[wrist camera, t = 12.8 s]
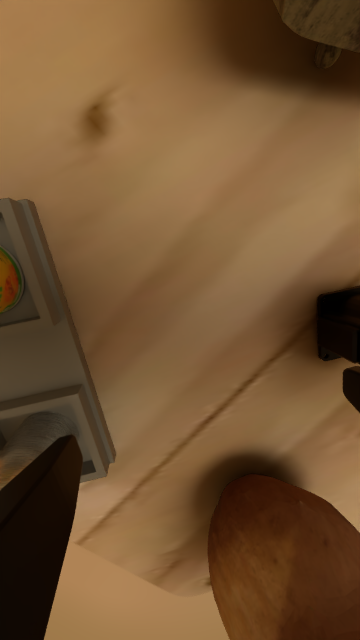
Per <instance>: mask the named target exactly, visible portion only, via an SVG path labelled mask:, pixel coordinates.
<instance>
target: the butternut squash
mask: <svg viewBox="0 0 360 640" xmlns="http://www.w3.org/2000/svg"><path fill="white" fill-rule="evenodd" d="M208 562H209V572H210V580H211V585H212V590H213V594H214V598H215V601H216V604H217V607H218V610H219V613H220V616H221V619H222V621H223V624H224V627H225V629H226V632H227V634H228V636H229V639H230V640H360V533H359V532H358V531H357V529H356V528H355V527H354V526H353V525H352V524H351V523H350V522H349V521H348V520H347V519H346V518H345V517H344V516H343V515H342V514H341V513H340V512H339V511H338V510H337V509H336V508H335V507H333V506H332V505H331V504H330V503H329V502H327V501H326V500H324V499H323V498H321V497H319V496H317V495H315V494H313V493H311V492H308V491H306V490H304V489H301V488H299V487H296V486H293V485H291V484H288V483H286V482H283V481H281V480H279V479H276V478H272V477H268V476H265V475H258V474H248V475H246V476H243V477H240V478H238V479H236V480H234V481H232V482H231V483H229V484H228V485H227V486H226V488H225V489H224V491H223V492H222V494H221V496H220V499H219V502H218V505H217V507H216V509H215V511H214V514H213V516H212V518H211V524H210V529H209V536H208Z"/></svg>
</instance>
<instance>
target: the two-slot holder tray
mask: <svg viewBox="0 0 360 640" xmlns="http://www.w3.org/2000/svg"><path fill="white" fill-rule="evenodd" d="M0 246H2V247H4V248H5V249H6V250H7V251H9V252H10V253H11V254H12V255H13V257H14V258H15V259H16V260H17V262H18V263H19V265H20V267H21V269H22V272H23V275H24V291H23V294H22V296H21V298H20V300H19V301H18V303H17V304H16V305H15V306H14V307H13V308H11V309H10V310H8V311H6V312H4V313H2V314H0V451H1V450H2V448H3V447H4V446H5V444H6V443H7V442H8V441H9V439H10V438H11V437H12V435H13V434H14V433H15V432H16V430H17V429H18V428H19V427H20V425H21V424H22V423H23V422H24V420H25V419H27V418H28V417H29V416H31V415H33V414H36V413H39V412H47V411H48V412H56V413H60V414H63V415H65V416H67V417H68V418H69V419H71V420H72V421H73V422H74V423H75V425H76V426H77V429H78V431H79V441H78V445H79V447H80V450H81V453H82V456H83V465H82V471H81V478H80V483H82V482H86V481H90V480H94V479H98V478H102V477H106V476H107V473H108V468H109V464H110V463H114V462H115V457H116V452H115V449H114V446H113V443H112V440H111V437H110V434H109V431H108V428H107V425H106V421H105V418H104V415H103V412H102V409H101V406H100V403H99V400H98V397H97V394H96V391H95V388H94V385H93V382H92V379H91V376H90V373H89V370H88V367H87V363H86V360H85V357H84V354H83V351H82V348H81V345H80V342H79V339H78V336H77V333H76V330H75V327H74V324H73V321H72V318H71V315H70V312H69V309H68V305H67V302H66V299H65V296H64V293H63V290H62V287H61V284H60V281H59V278H58V275H57V272H56V269H55V266H54V263H53V260H52V257H51V254H50V251H49V247H48V244H47V241H46V238H45V235H44V232H43V229H42V226H41V223H40V220H39V217H38V214H37V211H36V208H35V205H34V202H32V201H30V200H27V199H24V200H18V201H15V200H13V199H10V198H5V199H0Z"/></svg>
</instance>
